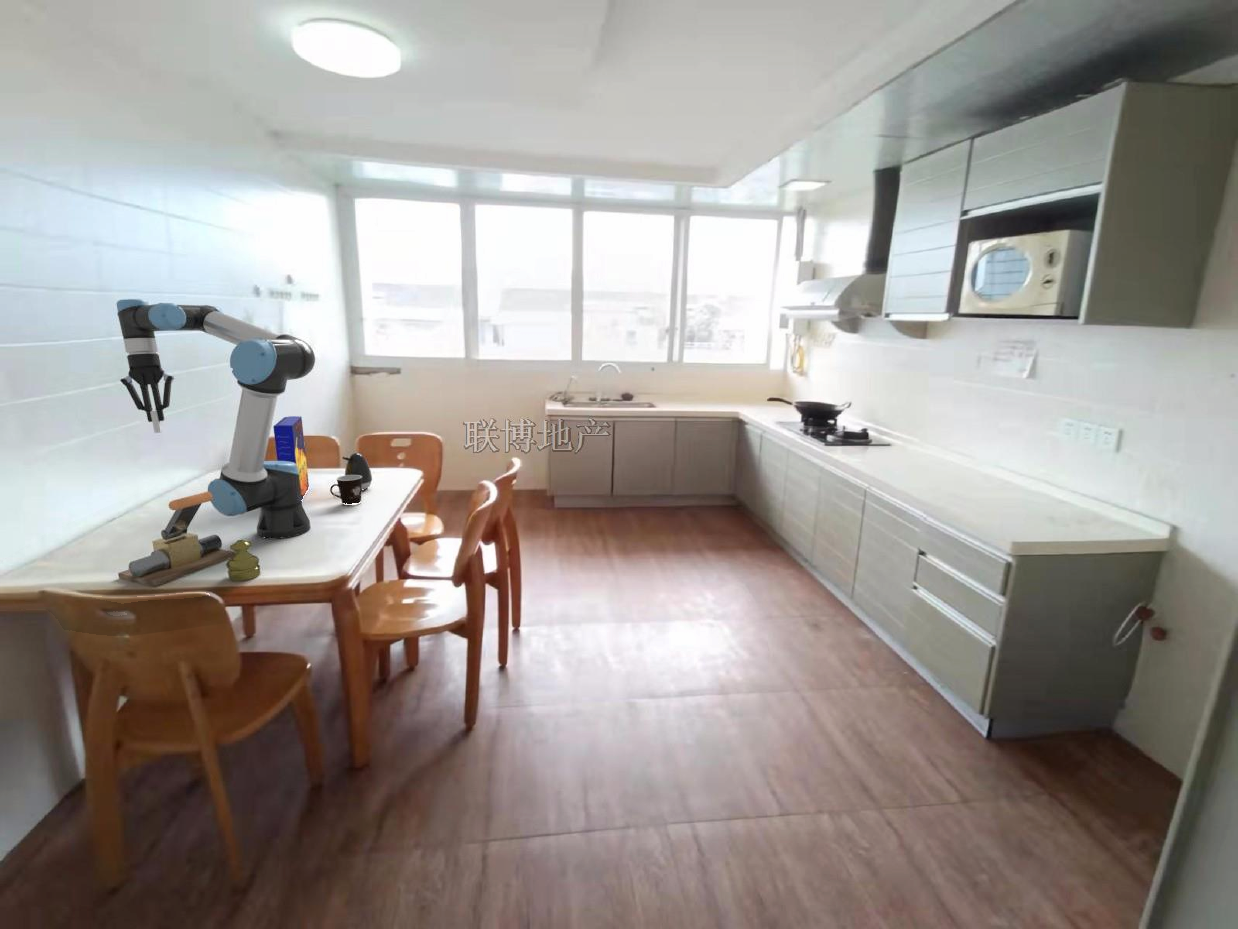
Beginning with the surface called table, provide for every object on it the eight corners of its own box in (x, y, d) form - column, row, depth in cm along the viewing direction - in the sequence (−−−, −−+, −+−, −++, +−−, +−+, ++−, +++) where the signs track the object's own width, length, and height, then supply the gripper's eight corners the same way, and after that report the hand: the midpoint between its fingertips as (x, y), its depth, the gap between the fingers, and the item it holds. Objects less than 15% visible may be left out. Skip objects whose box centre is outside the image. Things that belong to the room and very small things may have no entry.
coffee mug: (361, 498, 231) (359, 473, 228) (366, 504, 224) (364, 478, 221) (328, 503, 225) (326, 477, 222) (332, 509, 218) (329, 482, 215)
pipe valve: (119, 578, 158) (113, 548, 156) (201, 549, 178) (196, 522, 176) (155, 587, 153) (149, 555, 151) (235, 556, 173) (231, 528, 171)
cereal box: (300, 504, 222) (292, 424, 216) (282, 506, 220) (273, 425, 214) (309, 489, 242) (301, 415, 236) (292, 490, 240) (284, 416, 234)
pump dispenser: (341, 489, 244) (338, 452, 240) (367, 484, 250) (364, 449, 247) (350, 494, 236) (346, 456, 233) (376, 490, 243) (373, 453, 240)
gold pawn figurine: (266, 570, 164) (262, 536, 162) (251, 582, 157) (246, 546, 155) (238, 570, 164) (234, 536, 162) (222, 582, 157) (217, 546, 154)
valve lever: (146, 538, 158) (168, 499, 152) (185, 526, 168) (207, 489, 161) (153, 546, 158) (174, 507, 152) (192, 533, 168) (214, 496, 161)
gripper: (172, 352, 184) (187, 428, 188) (119, 355, 179) (135, 433, 183) (166, 351, 177) (181, 431, 182) (111, 354, 172) (128, 435, 176)
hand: (158, 432), depth 182 cm, fingers closed
